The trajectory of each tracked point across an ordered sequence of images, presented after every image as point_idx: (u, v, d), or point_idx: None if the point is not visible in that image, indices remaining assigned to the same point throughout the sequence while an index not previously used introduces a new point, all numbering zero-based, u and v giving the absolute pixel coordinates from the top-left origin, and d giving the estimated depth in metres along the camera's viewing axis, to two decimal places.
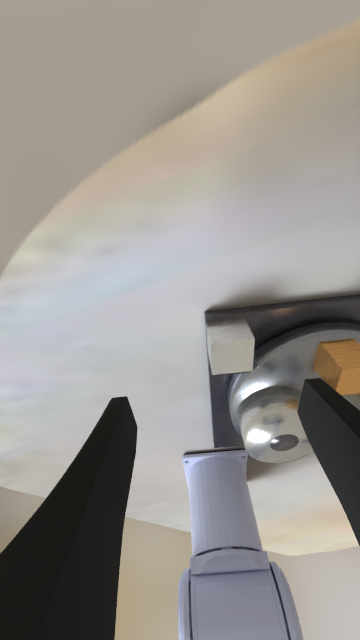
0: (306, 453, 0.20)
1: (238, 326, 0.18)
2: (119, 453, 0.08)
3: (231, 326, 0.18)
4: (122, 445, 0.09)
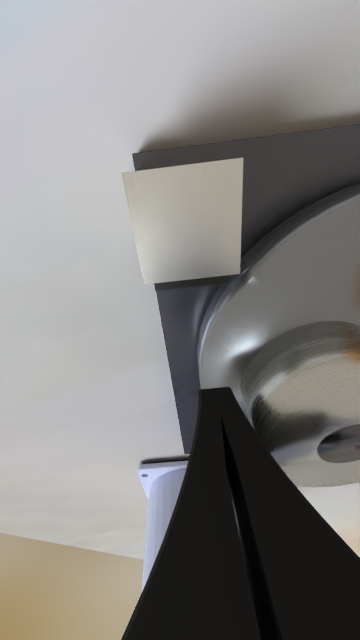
0: None
1: None
2: None
3: None
4: None
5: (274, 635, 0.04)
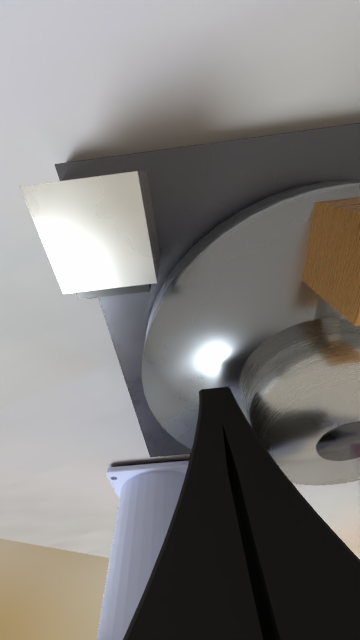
0: None
1: None
2: None
3: None
4: None
5: (272, 635, 0.04)
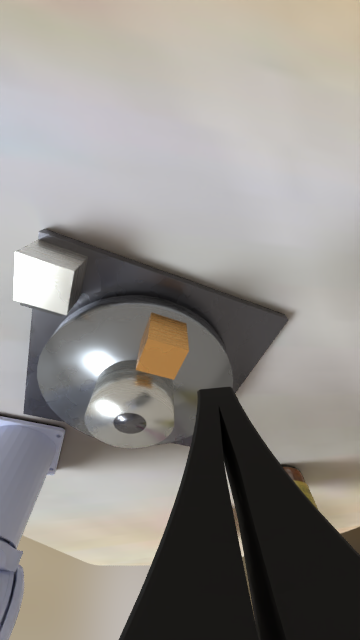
0: (151, 443, 0.18)
1: (71, 257, 0.14)
2: None
3: (63, 254, 0.14)
4: None
5: (277, 635, 0.04)
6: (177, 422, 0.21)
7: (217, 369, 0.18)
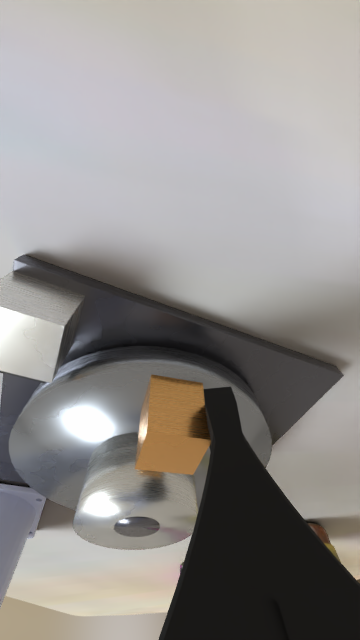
0: (170, 542, 0.13)
1: (60, 299, 0.10)
2: None
3: (48, 294, 0.10)
4: None
5: None
6: (200, 493, 0.17)
7: (249, 431, 0.13)
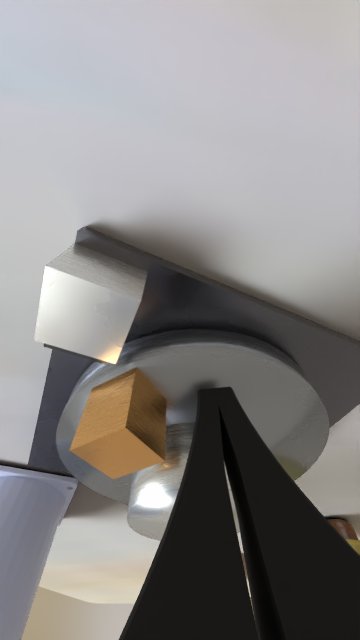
0: None
1: (127, 274, 0.09)
2: None
3: (115, 268, 0.09)
4: None
5: (277, 635, 0.04)
6: (281, 454, 0.14)
7: (244, 376, 0.11)
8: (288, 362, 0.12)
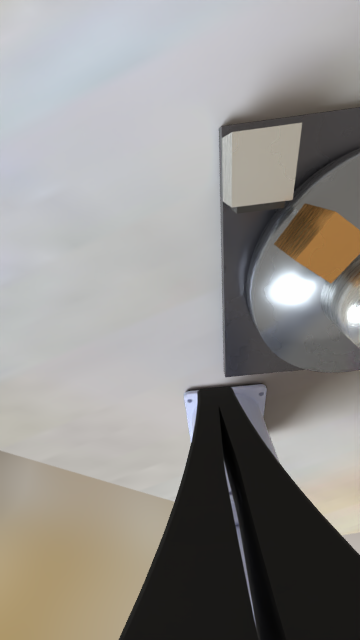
0: None
1: None
2: None
3: None
4: None
5: (277, 635, 0.04)
6: None
7: None
8: None
